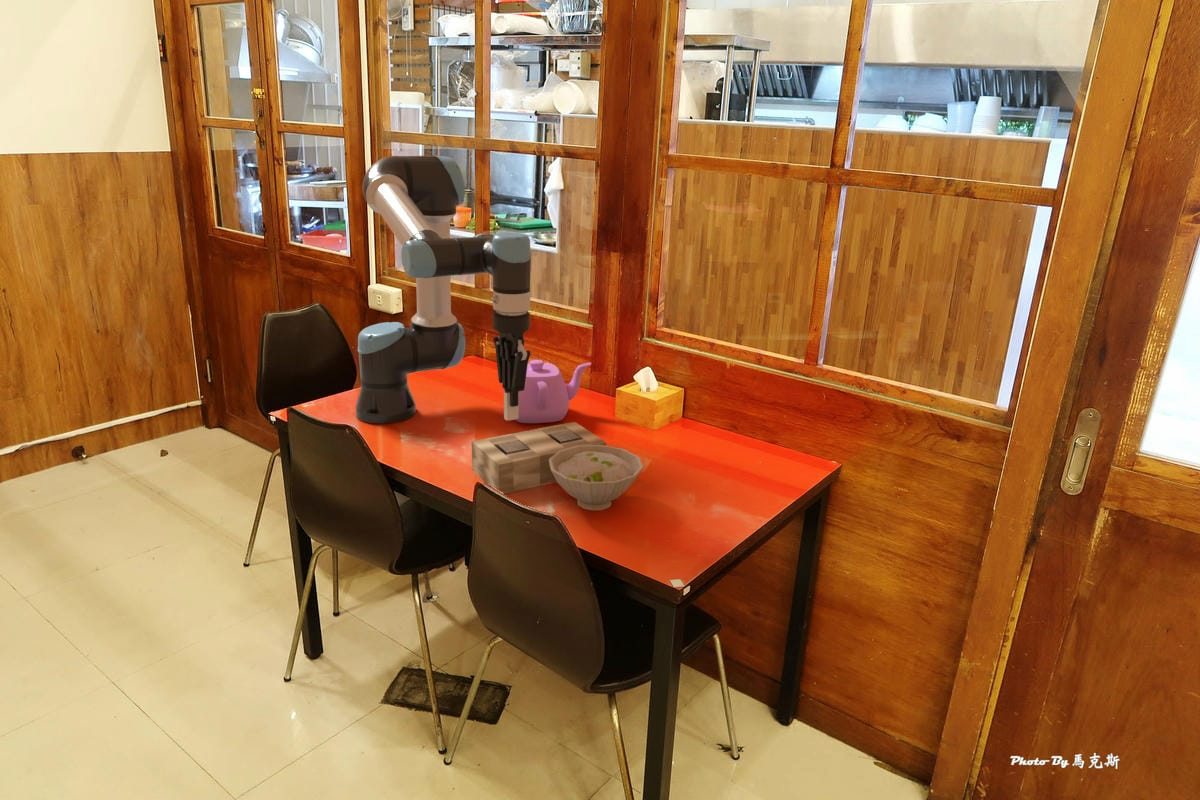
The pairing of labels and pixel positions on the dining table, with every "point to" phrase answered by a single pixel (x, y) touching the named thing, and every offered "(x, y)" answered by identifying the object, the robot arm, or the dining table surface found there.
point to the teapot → (546, 393)
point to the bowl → (595, 473)
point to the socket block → (524, 457)
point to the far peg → (564, 437)
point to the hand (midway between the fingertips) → (511, 418)
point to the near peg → (511, 447)
